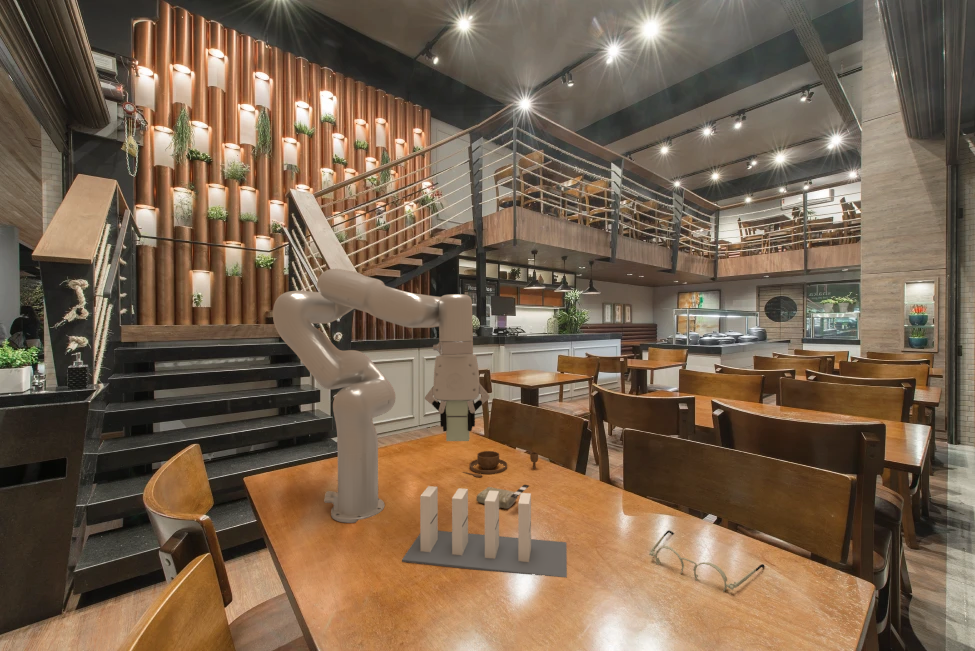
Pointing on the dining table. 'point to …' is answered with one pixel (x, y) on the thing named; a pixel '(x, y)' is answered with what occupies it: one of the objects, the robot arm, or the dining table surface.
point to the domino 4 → (524, 527)
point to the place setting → (493, 462)
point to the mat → (542, 561)
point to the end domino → (457, 421)
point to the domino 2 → (459, 521)
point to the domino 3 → (491, 524)
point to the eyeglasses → (700, 564)
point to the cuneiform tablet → (502, 496)
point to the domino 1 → (429, 518)
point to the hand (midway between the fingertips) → (457, 429)
